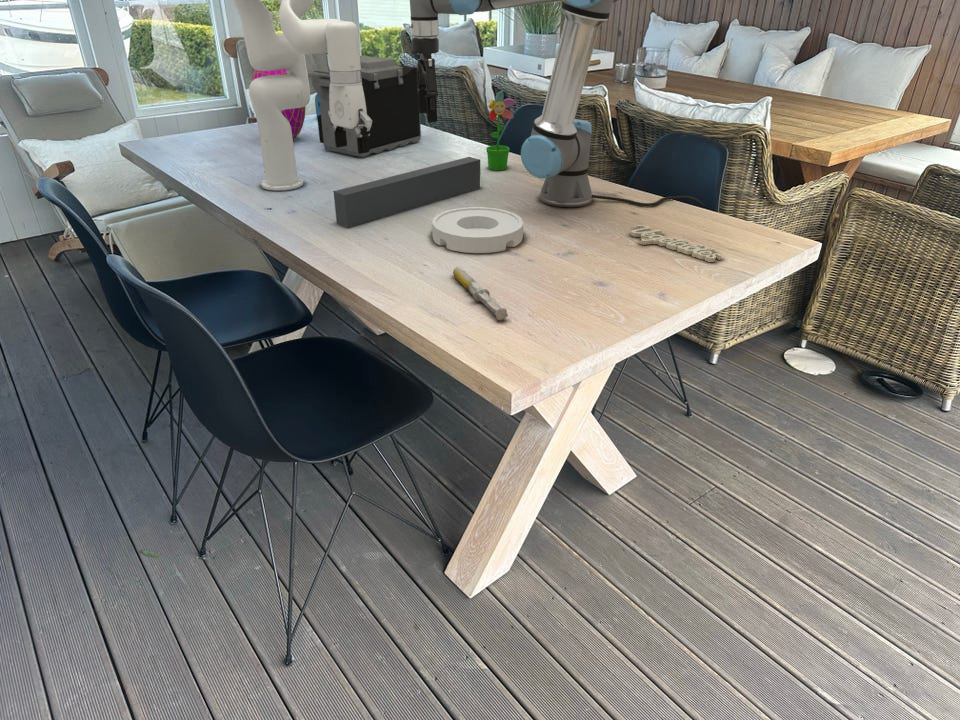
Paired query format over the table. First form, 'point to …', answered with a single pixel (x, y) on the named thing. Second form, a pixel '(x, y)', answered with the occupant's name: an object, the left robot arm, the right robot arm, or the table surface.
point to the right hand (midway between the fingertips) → (427, 117)
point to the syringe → (479, 293)
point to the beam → (405, 191)
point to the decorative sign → (674, 243)
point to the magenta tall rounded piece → (292, 115)
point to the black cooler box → (376, 107)
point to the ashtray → (477, 229)
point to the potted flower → (497, 152)
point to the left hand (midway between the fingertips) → (352, 149)
